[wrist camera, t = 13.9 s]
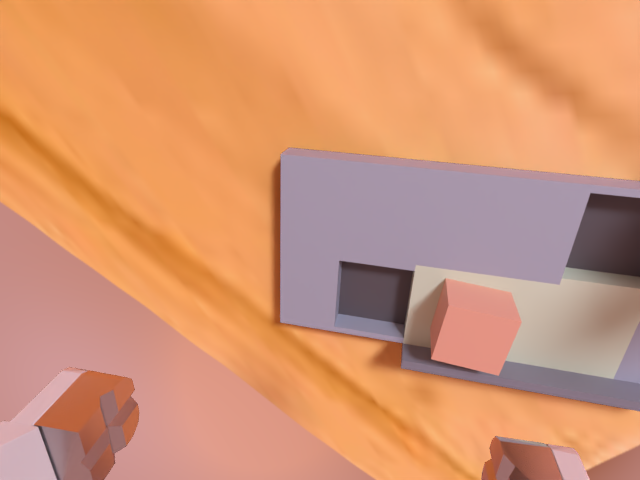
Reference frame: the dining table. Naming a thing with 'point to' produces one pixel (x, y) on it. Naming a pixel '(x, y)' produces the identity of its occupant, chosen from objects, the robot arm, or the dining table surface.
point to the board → (469, 263)
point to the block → (474, 326)
